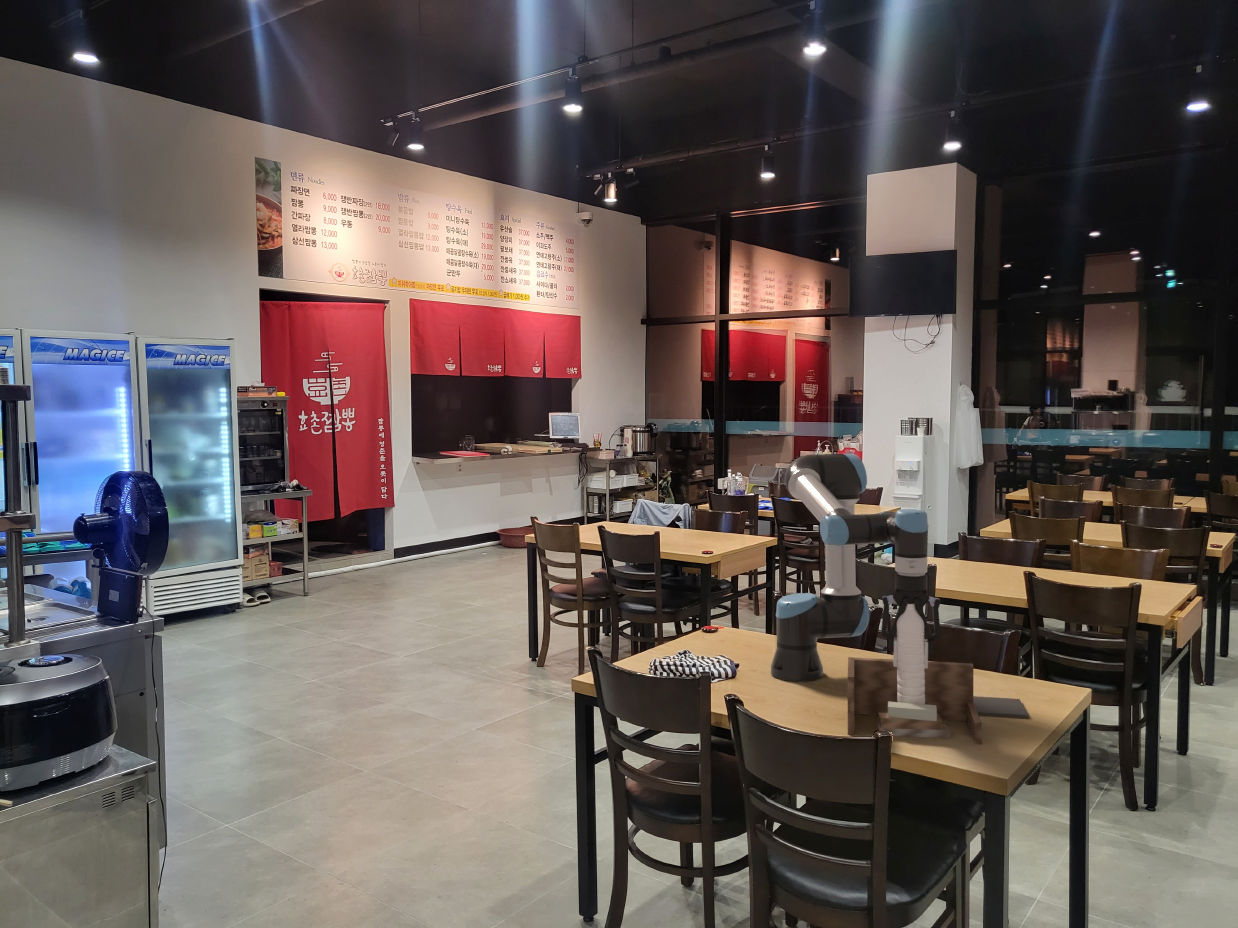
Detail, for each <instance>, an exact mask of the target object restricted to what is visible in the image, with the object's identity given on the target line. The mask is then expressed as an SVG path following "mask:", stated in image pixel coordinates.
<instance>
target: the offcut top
mask: <svg viewBox="0 0 1238 928" xmlns="http://www.w3.org/2000/svg"><path fill="white" fill-rule="evenodd" d="M888 717H894V718H905V719H917V720H928V721H937V708H936V705H926V704H913V703H901V702H888Z"/></svg>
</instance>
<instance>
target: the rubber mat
mask: <svg viewBox="0 0 1238 928" xmlns="http://www.w3.org/2000/svg"><path fill="white" fill-rule="evenodd" d="M973 702H974V705H975V707H976V710H977V712H978V715H979V716H985V717H986V716H987V717H997V718H998V717H1000V718H1001V717H1003V718H1013V719H1014V718H1016V719H1017V718H1018V719H1029V718H1030V717H1029V716H1030V715H1029V713H1028V712H1027V710H1026V708H1025V706H1024V705H1023V703H1022V701H1021V699H1020V698H1010V697H1009V698H1008V697H992V696H979V695H978V696H974V695H973Z"/></svg>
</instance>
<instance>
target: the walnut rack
mask: <svg viewBox="0 0 1238 928" xmlns="http://www.w3.org/2000/svg"><path fill="white" fill-rule="evenodd" d="M974 668H975V667H974V663H971V662H970V663H967V662H950V661H933V660H932V661H931V660H928V668H925V669H924V671H925V685H924V686H925V704H926V705H936V708H937V714H938V715H939V716H940V717H941V719H942V720H945V721H947V720H948V721H960V722H961V721H964V722H967V726H968V729H969V731H970V734H971V736H972V740H973V742H974V745H975V744H976V745H982V743H983V742H982V741H983V740H982V739H983V738H982V730H983V729H982V727H983V724H982V720H981V718H980V715H978V712H977V710H976V707H975V705H974V702H973V696H974ZM897 684H898V683H897V667H894V664H893V659H890V658H871V657H868V658H867V657H852V656H851V657H850V656H848V657H847V735H852V736H854V735H855V714H856V715H857V714H858V715H871V716H872V715H873V716H875V715H876V716H878V713H888V702H898V701H897V692H898V691H897Z"/></svg>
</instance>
